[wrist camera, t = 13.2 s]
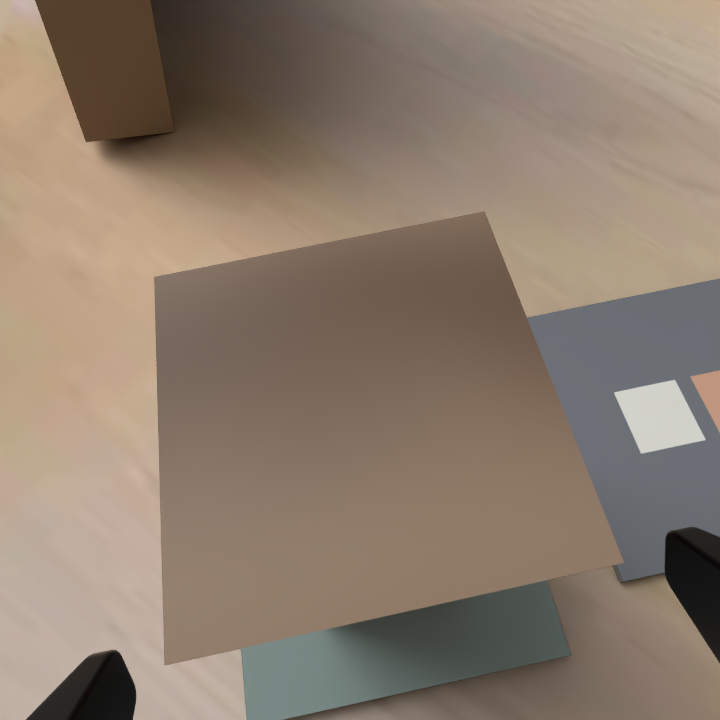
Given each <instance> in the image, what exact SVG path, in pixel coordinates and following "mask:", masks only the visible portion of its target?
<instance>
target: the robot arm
mask: <svg viewBox="0 0 720 720" xmlns="http://www.w3.org/2000/svg"><path fill="white" fill-rule="evenodd" d="M664 570H665V576H666V579H667V581H668V583H669V585H670V587H671V589H672V590H673V592H674V593H675V595H676V597H677V598H678V600H679V601H680V603H681V604H682V606H683V607H684V609H685V610H686V612H687V614H688V615H689V617H690V618H691V620H692V621H693V623H694V624H695V626H696V627H697V629H698V631H699V632H700V634H701V635H702V637H703V638H704V640H705V641H706V643H707V644H708V646H709V648H710V649H711V651H712V652H713V654H714V655H715V657H716V658H717V660H718V661H719V663H720V537H719V536H717V535H714V534H712V533H709V532H707V531H705V530H702V529H700V528H697V527H693V526H691V527H684V528H679V529H675V530H671V531H669V532H668V533H667V534H666V537H665V565H664ZM135 704H136V689H135V685H134V682H133V680H132V678H131V675H130V673H129V671H128V669H127V667H126V664H125V662H124V660H123V658H122V656H121V654H120V653H119V652H118V651H117V650H109V651H104V652H100V653H95V654H92V655H90V656H88V657H87V658H86V659H85V660H84V661H83V662H82V663H81V664H80V665H79V666H78V667H77V668H76V669H75V670H74V671H73V672H72V673H71V674H70V675H69V676H68V677H67V678H66V679H65V680H64V681H63V682H62V683H61V684H60V685H59V686H58V687H57V688H56V689H55V690H54V691H53V692H52V693H51V694H50V695H49V696H48V697H47V699H46V700H45V701H44V702H43V703H42V704H41V705H40V706H39V707H38V708H37V709H36V710H35V711H34V712H33V713H32V714H31V715H30V716H29V717H28V718H27V719H26V720H133V715H134V710H135Z"/></svg>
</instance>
